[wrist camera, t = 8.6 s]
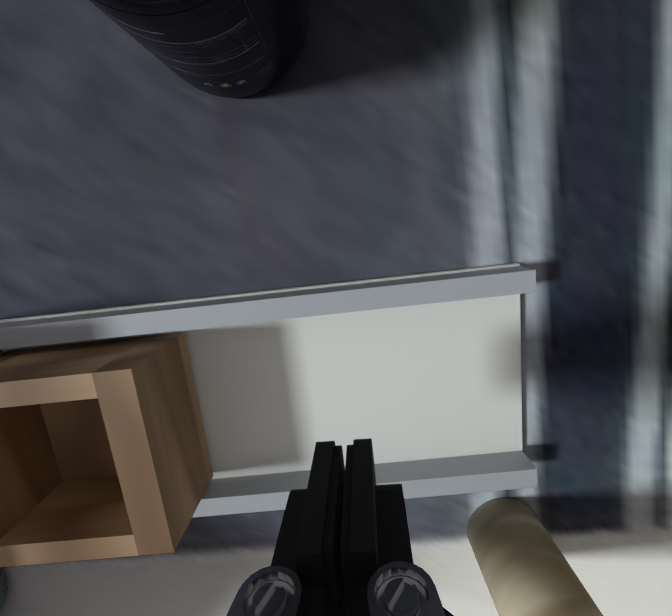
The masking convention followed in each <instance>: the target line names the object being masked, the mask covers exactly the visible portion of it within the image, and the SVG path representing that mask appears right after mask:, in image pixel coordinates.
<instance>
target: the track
mask: <svg viewBox="0 0 672 616" xmlns="http://www.w3.org/2000/svg"><path fill="white" fill-rule="evenodd" d="M534 292H536V270H535V269H531V268H526V267H522V266H520V264H518V263H511V264H502V265H493V266H484V267H475V268H465V269H456V270H447V271H438V272H429V273H420V274H411V275H402V276H393V277H384V278H375V279H366V280H357V281H348V282H338V283H329V284H320V285H311V286H302V287H293V288H284V289H275V290H266V291H257V292H248V293H239V294H230V295H221V296H211V297H202V298H193V299H184V300H175V301H166V302H157V303H148V304H139V305H130V306H121V307H112V308H103V309H93V310H84V311H75V312H66V313H57V314H48V315H39V316H30V317H21V318H12V319H3V320H0V354H1V353H4V352H7V351H12V350H21V349H30V348H40V347H49V346H58V345H68V344H77V343H86V342H96V341H105V340H114V339H124V338H133V337H142V336H152V335H161V334H171V333H180V332H184V333H185V338H186V343H187V348H188V352H189V357H190V362H191V367H192V372H193V377H194V382H195V387H196V392H197V397H198V402H199V407H200V412H201V417H202V422H203V427H204V432H205V437H206V442H207V447H208V452H209V457H210V462H211V467H212V472H213V477H212V479H211V481H210V483H209V485H208V487H207V489H206V491H205V493H204V495H203V497H202V499H201V501H200V503H199V505H198V507H197V509H196V511H195V513H194V515H193V517H205V516H216V515H227V514H239V513H250V512H261V511H273V510H284V509H285V508H286V504H287V500H288V496H289V493H290V491H291V490H293V489H307V486H308V481H309V476H310V471H311V465H312V460H313V455H314V450H315V445H316V442H323V441H335V445H336V446H338V445H342V450H343V458H344V466H346V450H347V445H353V441H354V439H369V438H371V439H372V446H373V456H374V466H375V475H376V485H385V484H402V489H403V496H404V499H408V498H420V497H431V496H442V495H453V494H465V493H476V492H487V491H499V490H510V489H521V488H533V487H537V468H536V467H535V466H534V464H533V463H532V462H531V461H530V459H529V458H528V457H527V456H526V454H525V453H524V452H523V451H522V390H521V325H520V294H524V293H534ZM193 517H192V518H193Z"/></svg>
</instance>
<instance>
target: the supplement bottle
mask: <svg viewBox="0 0 672 616" xmlns="http://www.w3.org/2000/svg"><path fill="white" fill-rule="evenodd" d="M89 1H91V2H92V3H93V4H94V5H95V6H97V7H98V8H99V9H100V10H101V11H102V12H104V13H105V14H106V15H107V16H108V17H110V18H111V19H112V20H113V21H114V22H115V23H117V24H118V25H119V26H120V27H121V28H123V29H124V30H125V31H126V32H127V33H129V34H130V35H131V36H132V37H133V38H134V39H136V40H137V41H138V42H139V43H140V44H142V45H143V46H144V47H145V48H146V49H147V50H149V51H150V52H151V53H152V54H153V55H155V56H156V57H157V58H158V59H159V60H160V61H162V62H163V63H164V64H165V65H166V66H168V67H169V68H170V69H171V70H172V71H174V72H175V73H176V74H177V75H179V76H180V77H181V78H182V79H184V80H185V81H187V82H188V83H189V84H191V85H193V86H194V87H196V88H198V89H200V90H202V91H204V92H206V93H209V94H212V95H216V96H221V97H234V98H235V97H244V96H249V95H253V94H256V93H258V92H261V91H263V90H265V89H267V88H268V87H270V86H272V85H273V84H274V83H276V82H277V81H278V80H279V79H280V78H281V77H282V76H283V75H284V74H285V73H286V72H287V71H288V69H289V68H290V67H291V65H292V64H293V62H294V61H295V59H296V57H297V55H298V53H299V51H300V49H301V46H302V43H303V40H304V37H305V33H306V28H307V20H308V0H89Z"/></svg>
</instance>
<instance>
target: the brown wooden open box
mask: <svg viewBox="0 0 672 616" xmlns="http://www.w3.org/2000/svg"><path fill="white" fill-rule="evenodd" d="M212 477H213V472H212V467H211V462H210V457H209V452H208V447H207V442H206V437H205V432H204V427H203V422H202V417H201V412H200V407H199V402H198V397H197V392H196V387H195V382H194V377H193V372H192V367H191V362H190V357H189V352H188V348H187V343H186V338H185V333H184V332H180V333H171V334H161V335H152V336H142V337H133V338H124V339H114V340H105V341H96V342H86V343H77V344H68V345H58V346H49V347H40V348H30V349H21V350H12V351H7V352H4V353H1V354H0V567H9V566H21V565H33V564H45V563H56V562H68V561H80V560H92V559H103V558H115V557H127V556H139V555H150V554H162V553H174V552H175V550H176V548H177V546H178V544H179V542H180V540H181V538H182V536H183V534H184V532H185V530H186V528H187V526H188V524H189V522H190V520H191V519H192V517H193V515H194V513H195V511H196V509H197V507H198V505H199V503H200V501H201V499H202V497H203V495H204V493H205V491H206V489H207V487H208V485H209V483H210V481H211V479H212Z"/></svg>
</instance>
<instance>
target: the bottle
mask: <svg viewBox="0 0 672 616" xmlns="http://www.w3.org/2000/svg"><path fill="white" fill-rule="evenodd" d="M6 593H7V584H6V579H5V574H4V569H3V568H2V567H0V611H1V609H2V607H3V604H4V600H5V597H6Z"/></svg>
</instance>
